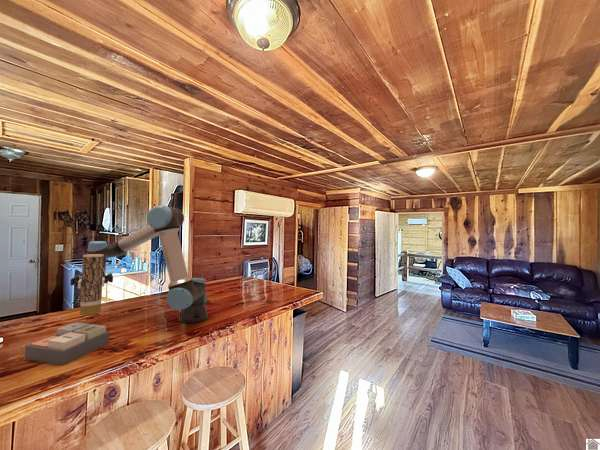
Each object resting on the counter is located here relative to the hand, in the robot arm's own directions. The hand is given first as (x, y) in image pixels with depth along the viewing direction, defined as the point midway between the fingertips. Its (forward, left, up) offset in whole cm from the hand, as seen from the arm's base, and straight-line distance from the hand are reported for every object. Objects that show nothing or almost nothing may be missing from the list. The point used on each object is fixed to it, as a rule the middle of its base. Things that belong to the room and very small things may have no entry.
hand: (91, 284), depth 100 cm
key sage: (+4, -3, -23) cm, 23 cm away
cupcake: (-6, -72, -28) cm, 77 cm away
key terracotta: (+12, +5, -25) cm, 28 cm away
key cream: (+4, +5, -23) cm, 24 cm away
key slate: (+12, -3, -23) cm, 26 cm away
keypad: (+8, +1, -28) cm, 29 cm away
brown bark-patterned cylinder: (+4, -3, -14) cm, 15 cm away
